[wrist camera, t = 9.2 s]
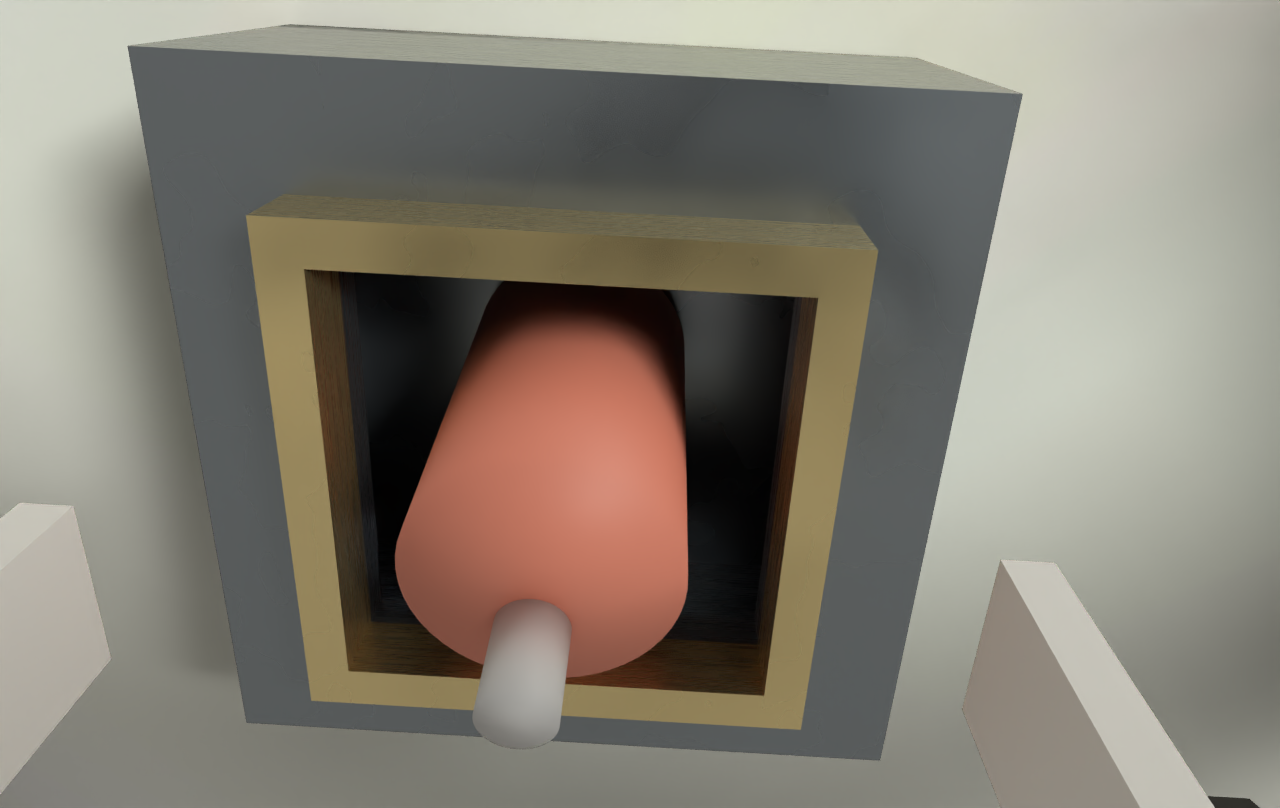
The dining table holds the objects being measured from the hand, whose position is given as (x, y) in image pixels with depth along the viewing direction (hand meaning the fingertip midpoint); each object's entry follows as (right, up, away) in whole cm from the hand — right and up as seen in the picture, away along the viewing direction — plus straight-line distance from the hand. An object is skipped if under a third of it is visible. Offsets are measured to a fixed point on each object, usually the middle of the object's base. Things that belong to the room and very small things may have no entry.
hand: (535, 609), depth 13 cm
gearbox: (0, +5, +10) cm, 11 cm away
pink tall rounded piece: (0, +4, +9) cm, 10 cm away
